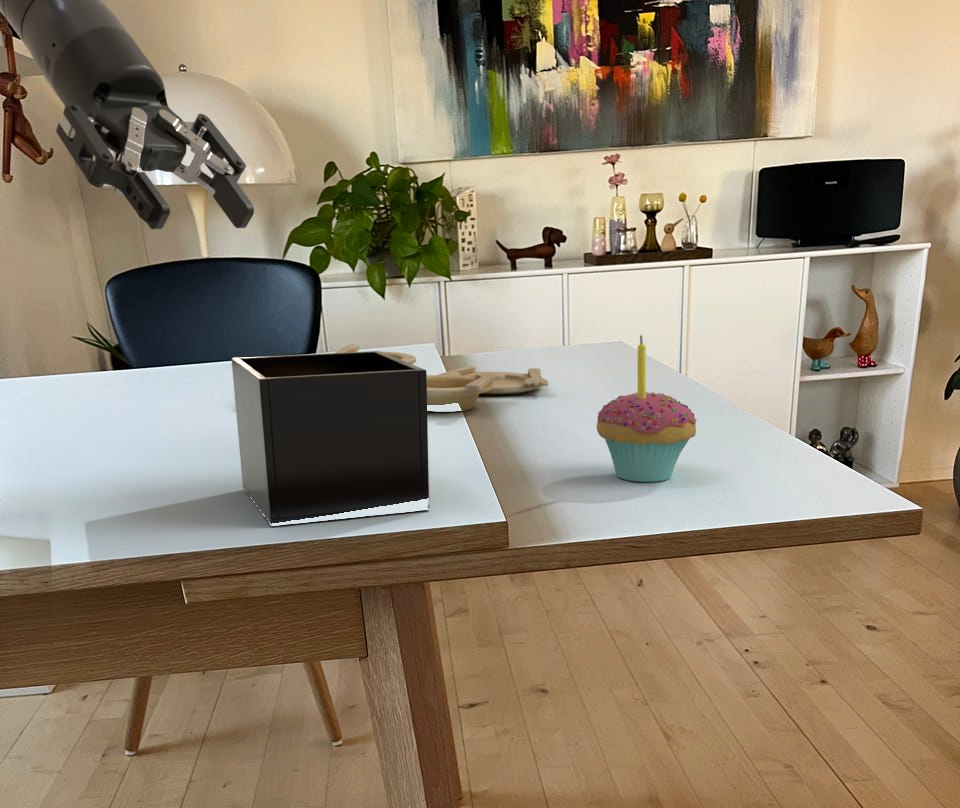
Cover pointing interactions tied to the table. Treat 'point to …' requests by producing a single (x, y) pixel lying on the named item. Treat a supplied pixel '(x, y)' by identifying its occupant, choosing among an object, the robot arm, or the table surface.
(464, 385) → the tableware set
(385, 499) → the trash can
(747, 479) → the table surface
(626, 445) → the cupcake
